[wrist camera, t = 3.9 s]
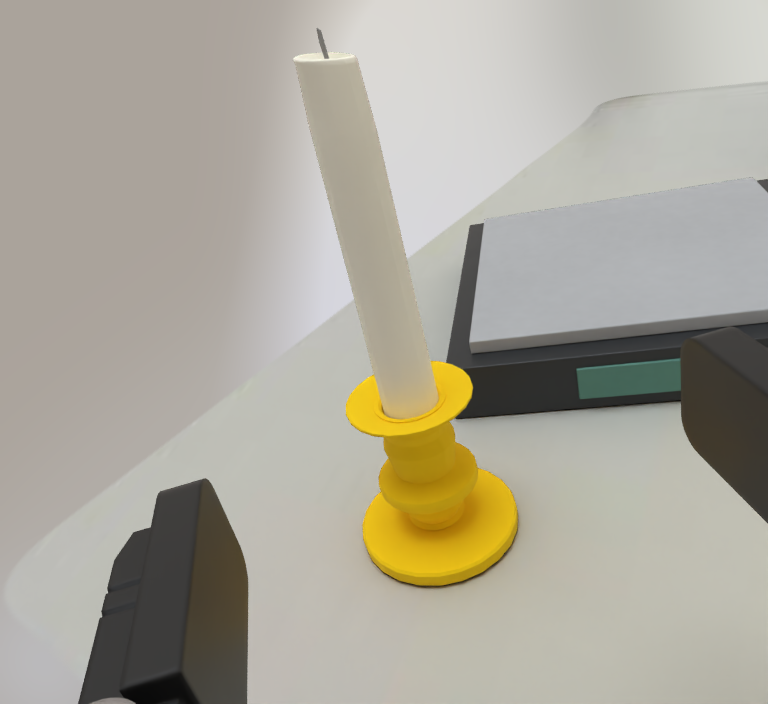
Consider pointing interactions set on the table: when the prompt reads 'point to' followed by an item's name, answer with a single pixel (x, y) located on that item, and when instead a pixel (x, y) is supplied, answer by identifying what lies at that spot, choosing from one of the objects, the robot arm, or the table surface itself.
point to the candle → (399, 359)
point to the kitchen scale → (607, 296)
